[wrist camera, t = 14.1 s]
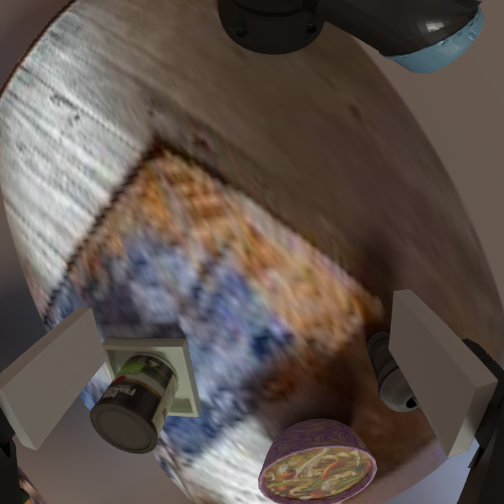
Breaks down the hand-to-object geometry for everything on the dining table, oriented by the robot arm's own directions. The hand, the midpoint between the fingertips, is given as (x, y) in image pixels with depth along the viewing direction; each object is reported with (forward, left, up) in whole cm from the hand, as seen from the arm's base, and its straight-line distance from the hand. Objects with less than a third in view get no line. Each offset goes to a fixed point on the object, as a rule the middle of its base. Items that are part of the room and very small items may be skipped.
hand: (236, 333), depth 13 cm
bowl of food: (+41, +7, -32) cm, 53 cm away
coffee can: (+25, -21, -31) cm, 45 cm away
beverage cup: (+21, +18, -32) cm, 42 cm away
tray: (+25, -20, -32) cm, 45 cm away
